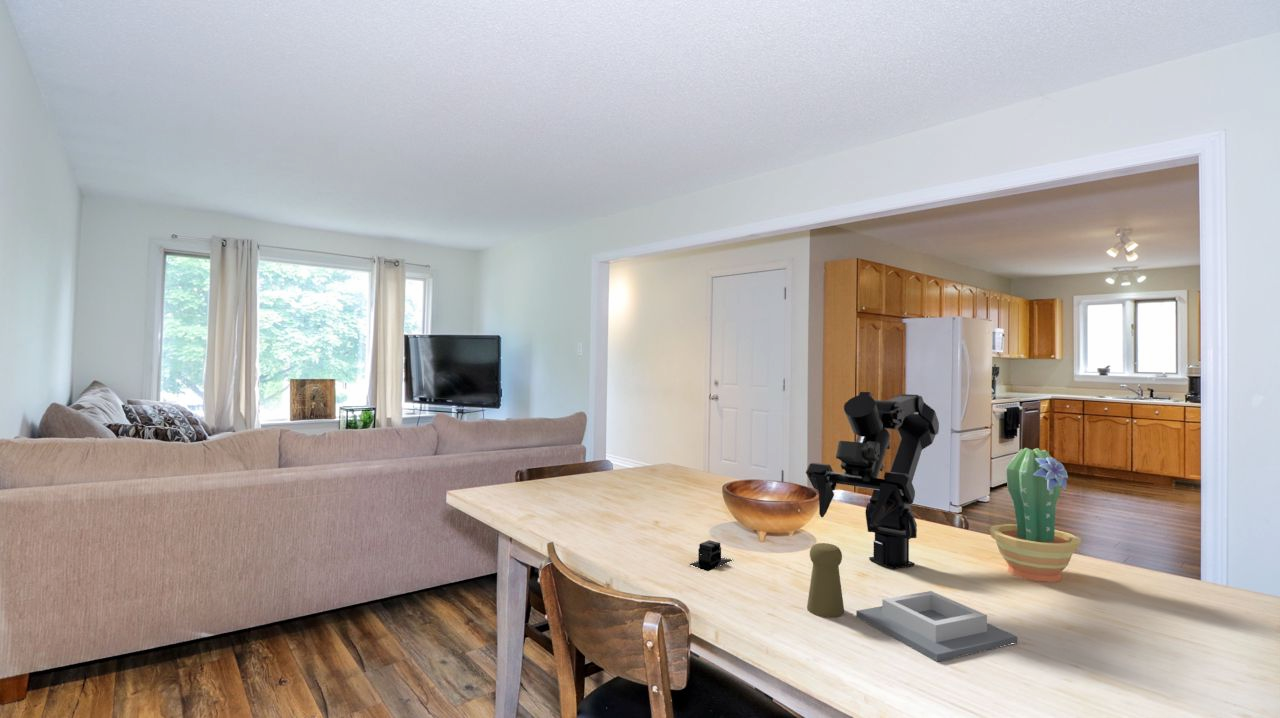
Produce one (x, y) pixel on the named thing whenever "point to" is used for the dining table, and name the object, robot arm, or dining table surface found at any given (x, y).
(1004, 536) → the potted cactus
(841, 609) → the cork
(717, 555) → the black bracket mount
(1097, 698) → the dining table surface
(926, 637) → the socket plate
